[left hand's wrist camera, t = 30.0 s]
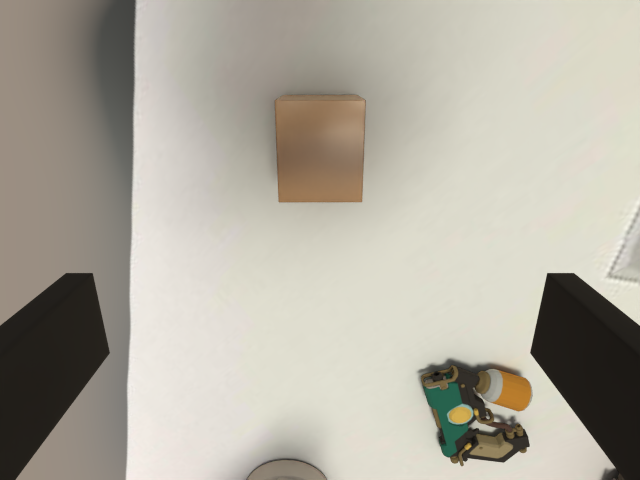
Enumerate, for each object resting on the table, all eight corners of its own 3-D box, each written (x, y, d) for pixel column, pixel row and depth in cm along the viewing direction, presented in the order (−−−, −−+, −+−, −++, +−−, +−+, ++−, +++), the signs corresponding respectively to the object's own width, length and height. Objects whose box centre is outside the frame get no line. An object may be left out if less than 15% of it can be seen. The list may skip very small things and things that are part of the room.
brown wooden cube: (282, 95, 44) (274, 100, 36) (357, 94, 44) (365, 100, 36) (285, 180, 47) (278, 202, 39) (355, 180, 47) (362, 202, 39)
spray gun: (517, 448, 62) (412, 447, 62) (538, 356, 55) (419, 356, 55) (529, 475, 58) (417, 474, 59) (554, 380, 51) (425, 380, 52)
